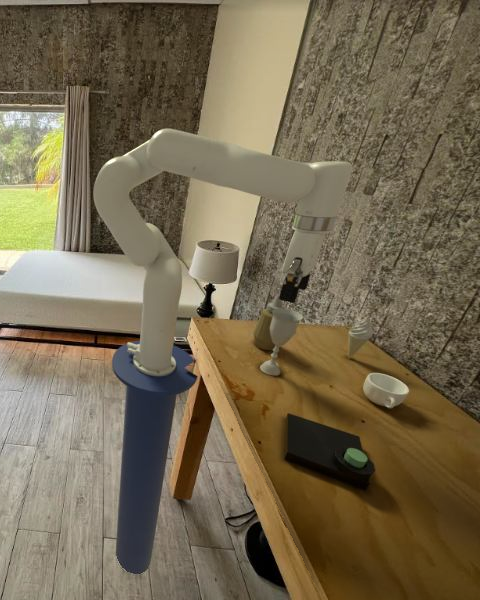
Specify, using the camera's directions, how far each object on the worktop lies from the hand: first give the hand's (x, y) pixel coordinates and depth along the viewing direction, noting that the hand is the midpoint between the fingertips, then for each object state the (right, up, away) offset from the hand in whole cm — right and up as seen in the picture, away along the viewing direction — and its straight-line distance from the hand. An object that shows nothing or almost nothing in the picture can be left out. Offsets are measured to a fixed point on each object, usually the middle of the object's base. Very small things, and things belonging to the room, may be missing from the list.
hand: (292, 294), depth 76 cm
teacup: (+23, -27, +2) cm, 35 cm away
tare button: (+1, -32, -16) cm, 36 cm away
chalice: (+3, -21, +14) cm, 26 cm away
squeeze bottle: (+8, -16, +25) cm, 31 cm away
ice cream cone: (+29, -19, +18) cm, 39 cm away
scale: (-1, -33, -10) cm, 35 cm away
